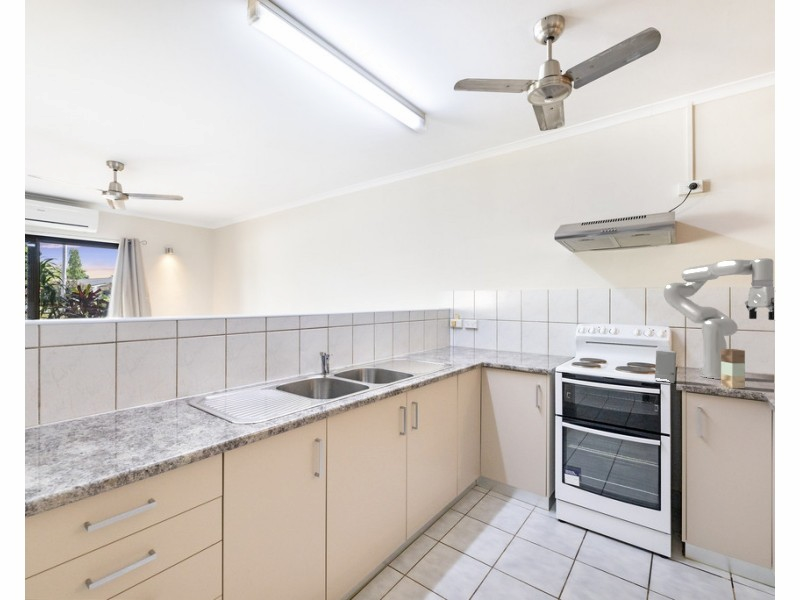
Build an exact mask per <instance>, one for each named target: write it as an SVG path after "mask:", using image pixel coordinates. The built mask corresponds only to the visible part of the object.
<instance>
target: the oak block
mask: <svg viewBox="0 0 800 600" xmlns="http://www.w3.org/2000/svg"><path fill="white" fill-rule="evenodd" d="M720 382H721V383H720V386H721V385H722V386H721V387H723V386H726V387H725V388H727V387H729V388H728V389H731V388H745V389H746V375H745V376H729V375H725V374H721V379H720Z"/></svg>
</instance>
